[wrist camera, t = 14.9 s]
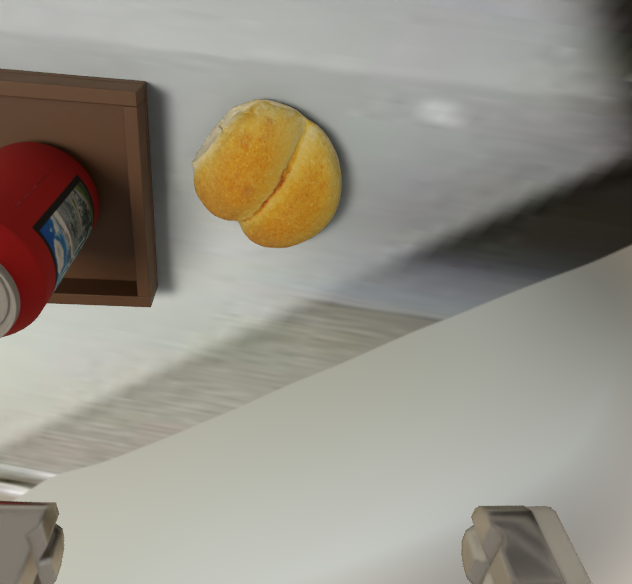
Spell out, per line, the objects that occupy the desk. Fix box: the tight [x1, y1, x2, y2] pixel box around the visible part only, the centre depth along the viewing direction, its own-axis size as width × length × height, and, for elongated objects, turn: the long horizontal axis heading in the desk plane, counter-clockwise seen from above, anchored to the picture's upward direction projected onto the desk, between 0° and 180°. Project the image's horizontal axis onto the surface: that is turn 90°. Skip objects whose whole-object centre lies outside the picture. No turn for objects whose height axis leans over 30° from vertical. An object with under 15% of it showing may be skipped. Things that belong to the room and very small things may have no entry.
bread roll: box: [192, 99, 342, 248], centre depth 33 cm, size 8×9×4 cm
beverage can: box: [0, 142, 99, 338], centre depth 28 cm, size 7×7×12 cm
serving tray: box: [0, 69, 158, 307], centre depth 33 cm, size 14×13×3 cm
